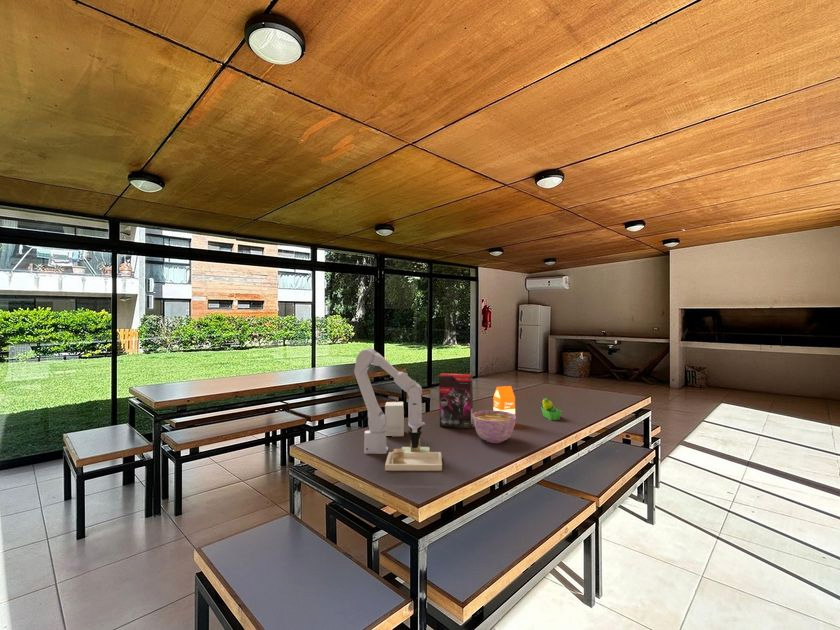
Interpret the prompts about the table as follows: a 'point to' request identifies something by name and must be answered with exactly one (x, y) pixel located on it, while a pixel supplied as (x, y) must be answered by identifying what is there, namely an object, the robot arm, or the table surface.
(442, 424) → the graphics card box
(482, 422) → the bowl of food
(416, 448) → the labelled block
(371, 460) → the table surface
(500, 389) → the orange juice
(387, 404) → the supplement box
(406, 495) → the table surface
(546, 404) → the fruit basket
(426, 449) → the pad
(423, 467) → the tray
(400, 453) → the plain block
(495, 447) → the table surface
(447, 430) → the table surface
